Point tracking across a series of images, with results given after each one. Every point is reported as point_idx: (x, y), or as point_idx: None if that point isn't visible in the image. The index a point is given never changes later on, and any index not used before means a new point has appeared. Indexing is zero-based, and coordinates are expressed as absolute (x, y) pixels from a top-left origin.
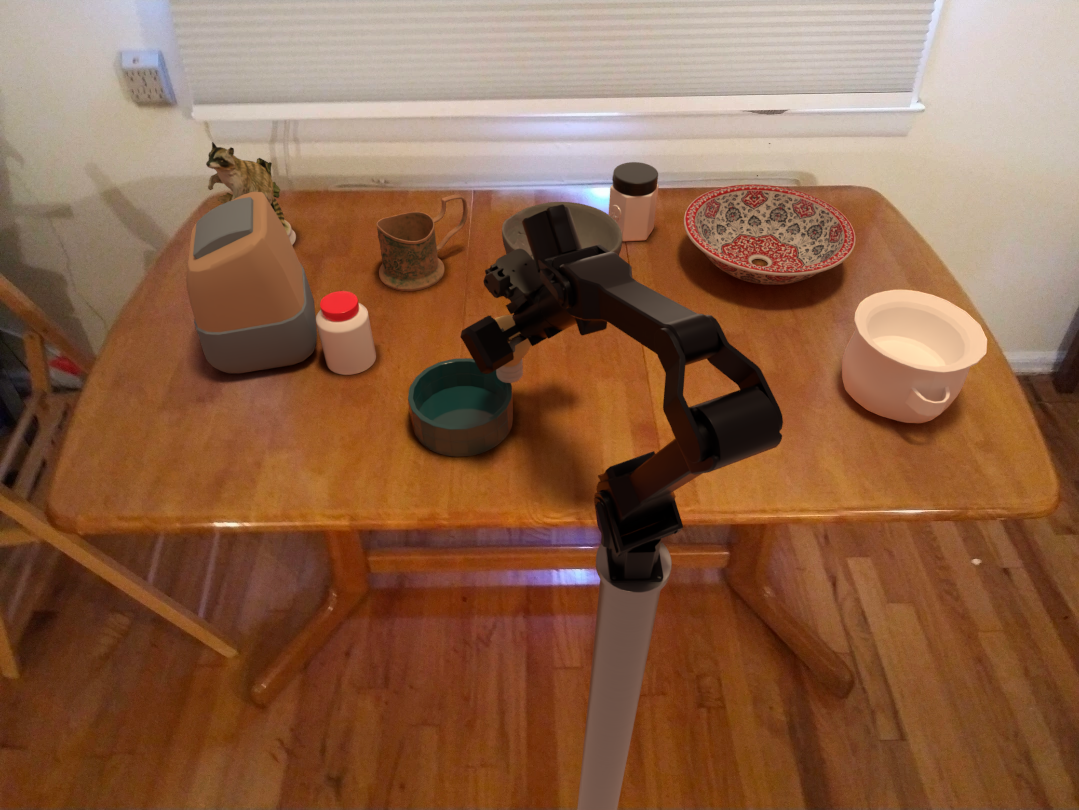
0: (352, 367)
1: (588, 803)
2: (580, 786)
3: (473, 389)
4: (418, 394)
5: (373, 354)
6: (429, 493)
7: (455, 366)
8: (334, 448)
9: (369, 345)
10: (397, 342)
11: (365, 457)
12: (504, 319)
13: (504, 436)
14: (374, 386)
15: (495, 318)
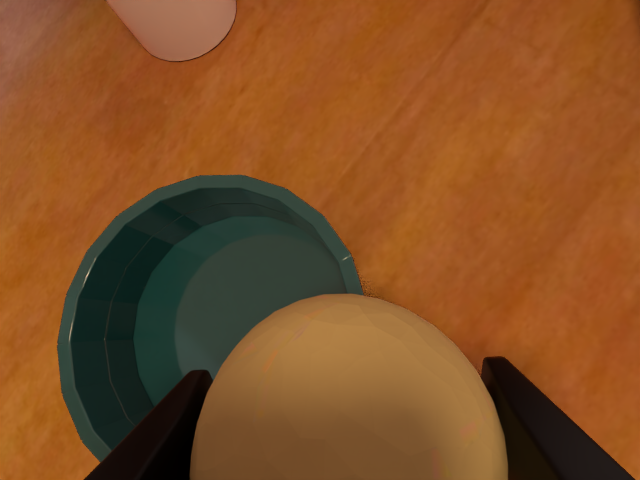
0: (149, 45)
1: None
2: None
3: (321, 261)
4: (164, 224)
5: (206, 32)
6: (47, 471)
7: (282, 206)
8: (9, 221)
9: (181, 10)
10: (289, 19)
11: (30, 282)
12: (320, 462)
13: None
14: (169, 112)
15: (309, 347)
